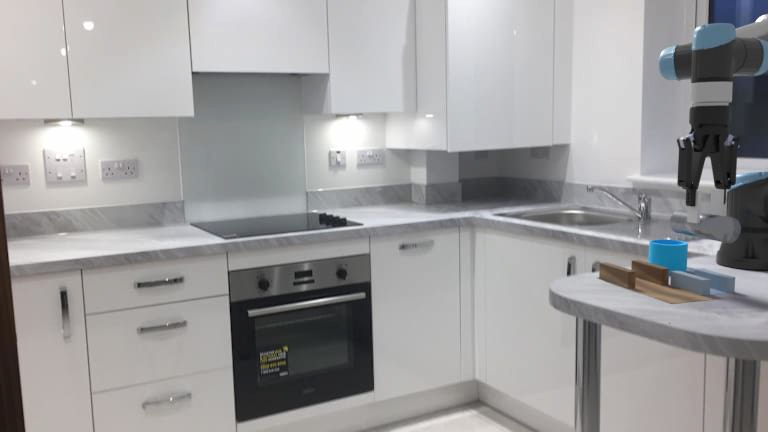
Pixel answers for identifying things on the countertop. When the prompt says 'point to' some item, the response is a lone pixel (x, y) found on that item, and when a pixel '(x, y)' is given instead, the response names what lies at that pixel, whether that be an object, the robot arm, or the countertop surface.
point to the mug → (669, 254)
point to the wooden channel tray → (647, 281)
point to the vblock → (703, 282)
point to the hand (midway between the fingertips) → (704, 221)
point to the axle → (706, 226)
